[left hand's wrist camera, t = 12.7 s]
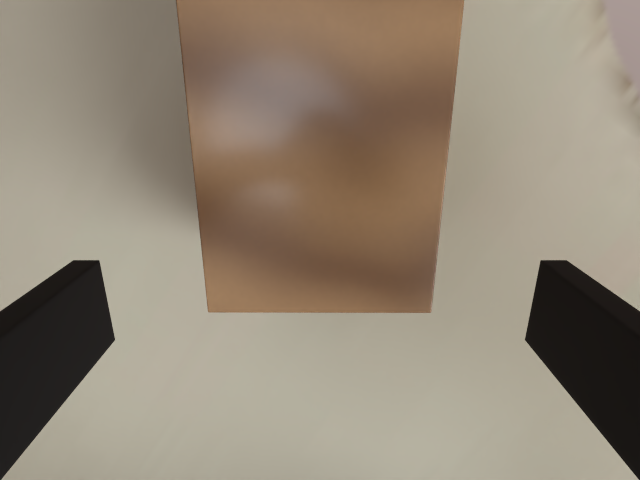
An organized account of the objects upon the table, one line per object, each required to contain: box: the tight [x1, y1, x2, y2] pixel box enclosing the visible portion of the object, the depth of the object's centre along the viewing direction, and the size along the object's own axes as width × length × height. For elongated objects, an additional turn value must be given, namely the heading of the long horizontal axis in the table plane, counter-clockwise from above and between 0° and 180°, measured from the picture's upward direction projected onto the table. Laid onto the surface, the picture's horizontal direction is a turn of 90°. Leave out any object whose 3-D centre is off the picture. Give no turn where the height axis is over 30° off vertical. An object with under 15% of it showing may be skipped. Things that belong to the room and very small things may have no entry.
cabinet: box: [176, 0, 464, 313], centre depth 21 cm, size 20×11×10 cm, turn 0°
